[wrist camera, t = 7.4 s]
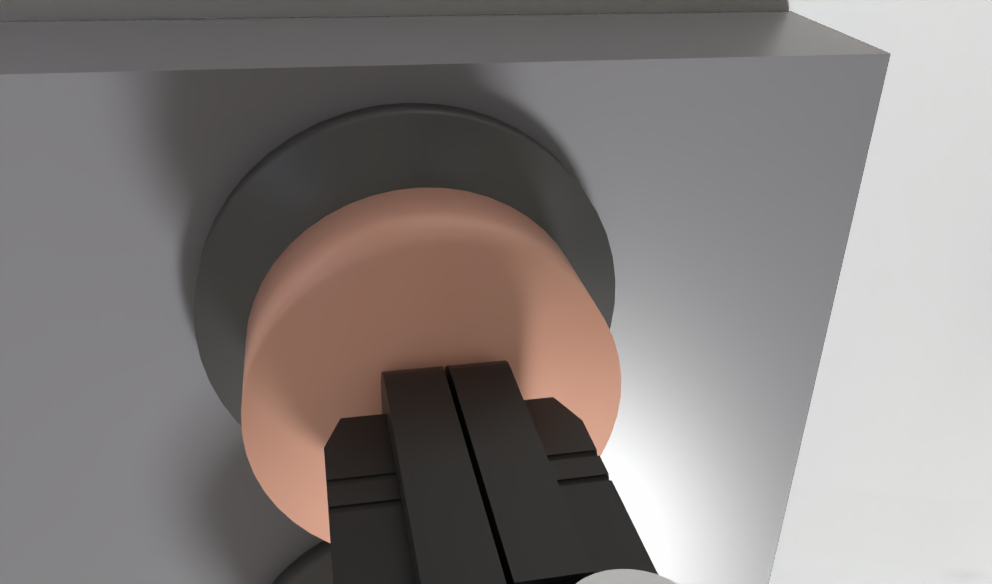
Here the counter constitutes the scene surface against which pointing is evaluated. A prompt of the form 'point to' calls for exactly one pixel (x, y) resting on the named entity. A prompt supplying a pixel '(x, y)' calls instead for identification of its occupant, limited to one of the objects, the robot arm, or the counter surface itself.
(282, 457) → the terracotta button
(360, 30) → the button panel
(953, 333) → the counter surface
